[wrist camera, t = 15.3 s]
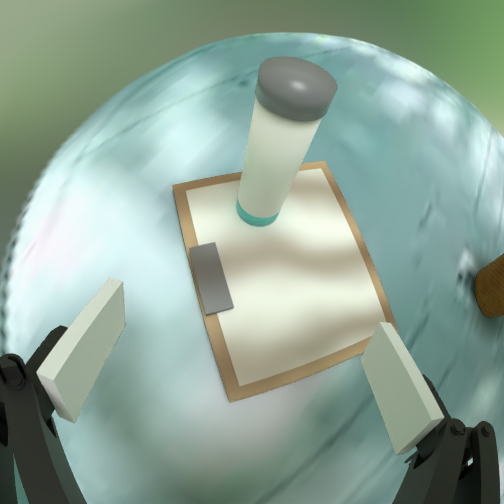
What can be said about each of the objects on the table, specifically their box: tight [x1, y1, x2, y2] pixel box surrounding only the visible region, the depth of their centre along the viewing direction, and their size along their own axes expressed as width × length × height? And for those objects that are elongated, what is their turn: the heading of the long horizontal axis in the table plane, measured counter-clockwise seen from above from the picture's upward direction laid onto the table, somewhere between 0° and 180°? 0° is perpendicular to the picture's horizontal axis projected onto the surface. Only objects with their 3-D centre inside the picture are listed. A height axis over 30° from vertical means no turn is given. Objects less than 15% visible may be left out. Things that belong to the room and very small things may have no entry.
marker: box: [236, 57, 337, 227], centre depth 17 cm, size 4×4×13 cm
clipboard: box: [173, 161, 398, 402], centre depth 22 cm, size 18×15×2 cm
